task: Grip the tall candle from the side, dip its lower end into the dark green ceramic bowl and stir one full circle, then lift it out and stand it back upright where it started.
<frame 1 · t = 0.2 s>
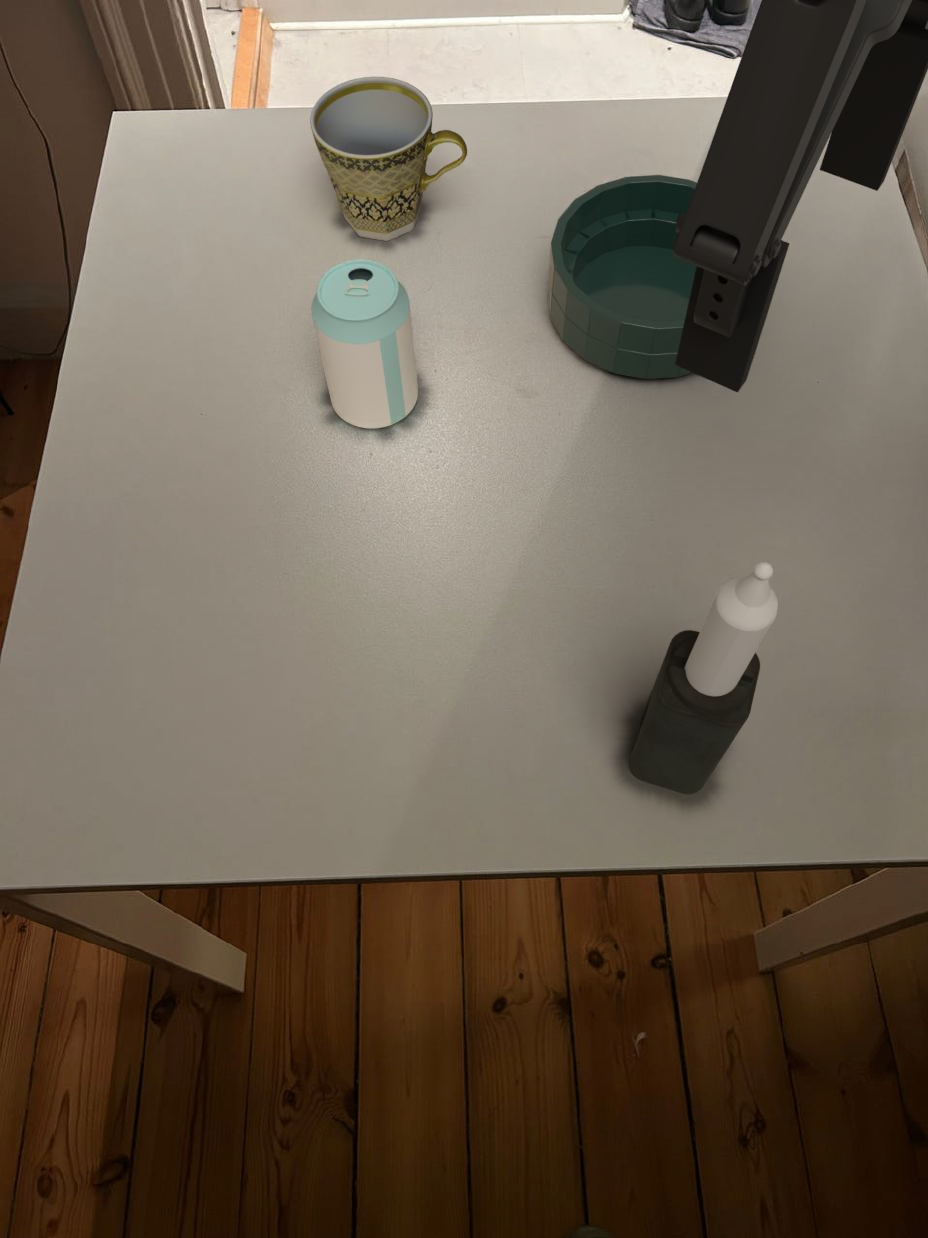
hand: (785, 268, 41), 33 cm above the table, tool pointing down, fingers open, 13 cm apart
can: (375, 400, 80), on the table
ceramic cup: (399, 219, 89), on the table
bowl: (645, 307, 84), on the table
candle: (670, 753, 66), on the table
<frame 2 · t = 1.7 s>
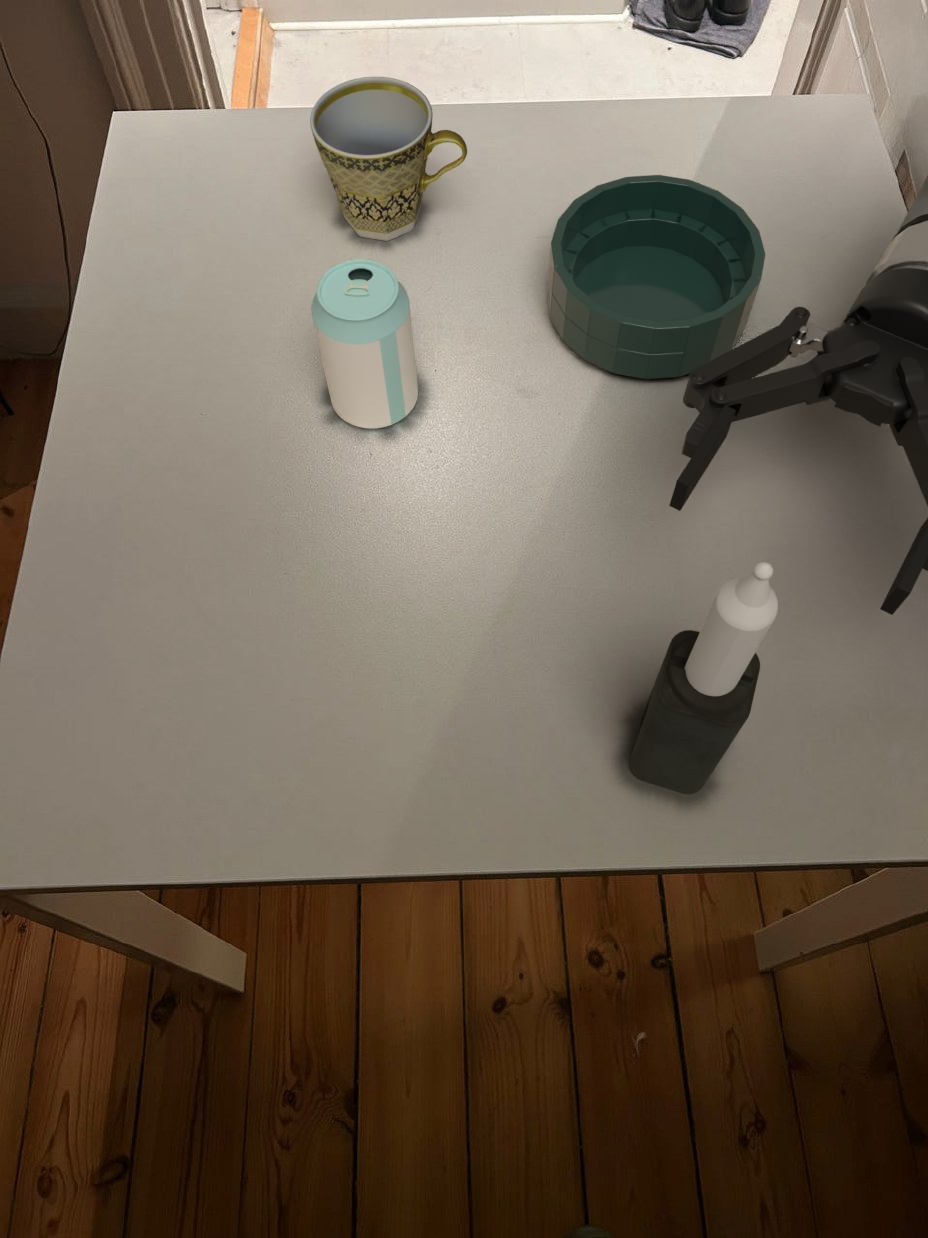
hand: (783, 547, 58), 13 cm above the table, tool horizontal, fingers open, 13 cm apart
nothing on the table moved.
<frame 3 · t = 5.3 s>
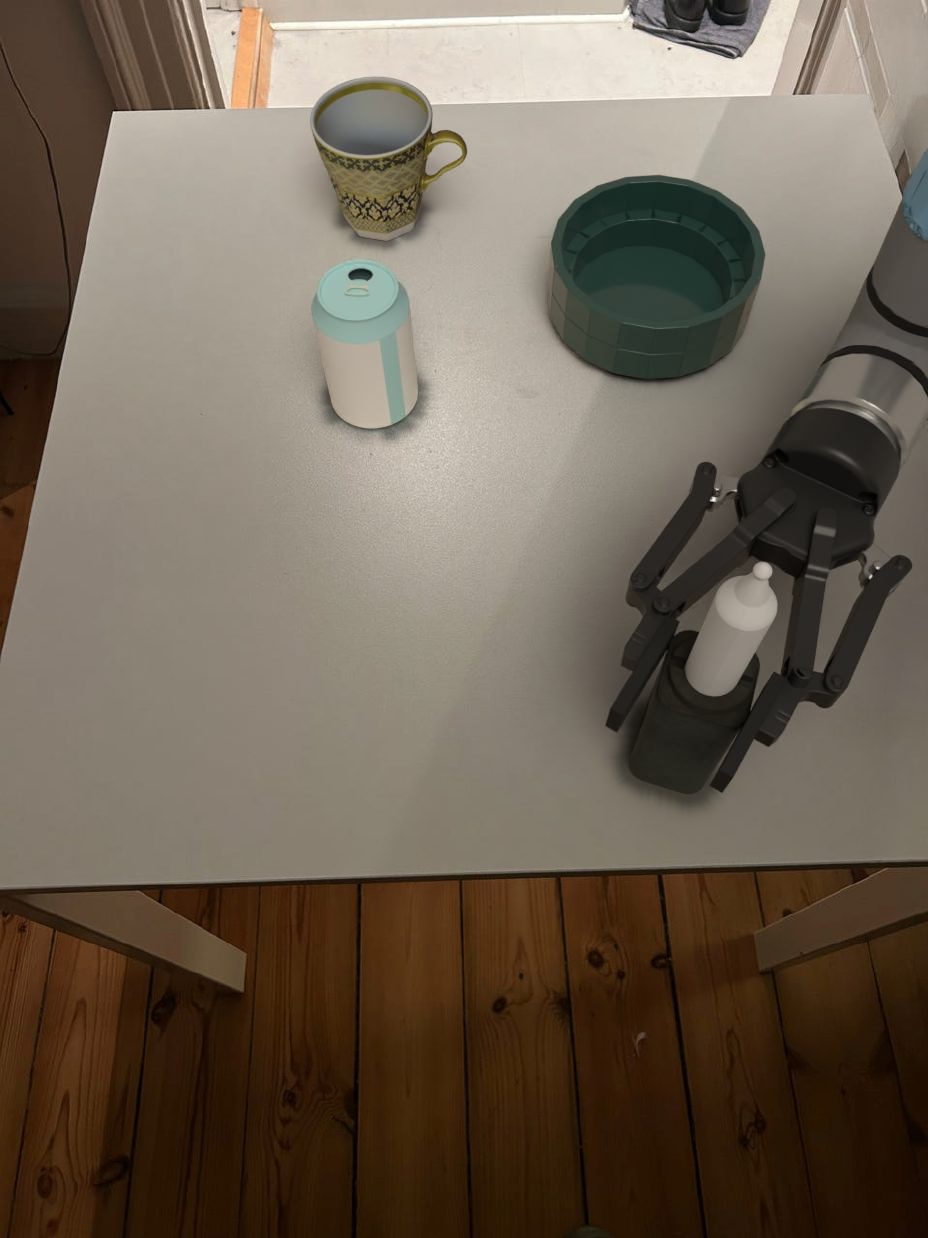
hand: (667, 750, 53), 13 cm above the table, tool horizontal, fingers closed on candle, 6 cm apart
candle: (671, 753, 66), on the table, touching gripper
everything else where it was.
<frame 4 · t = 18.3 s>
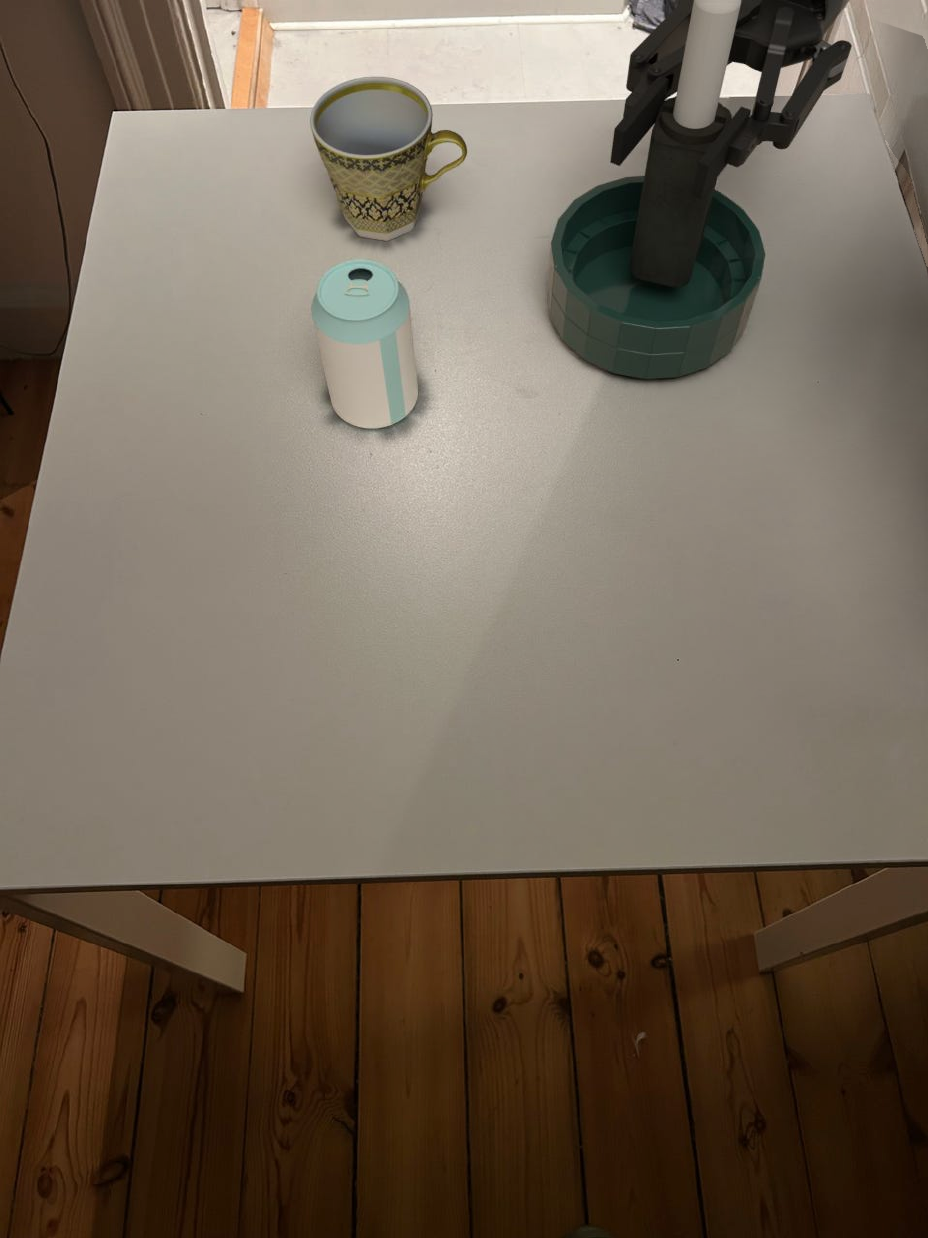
hand: (658, 163, 68), 16 cm above the table, tool horizontal, fingers closed on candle, 6 cm apart
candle: (663, 263, 82), point 3 cm above the table, touching gripper
everything else where it was.
when the fingers open (13 cm above the table, at t = 31.2 s): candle stays where it is, on the table.
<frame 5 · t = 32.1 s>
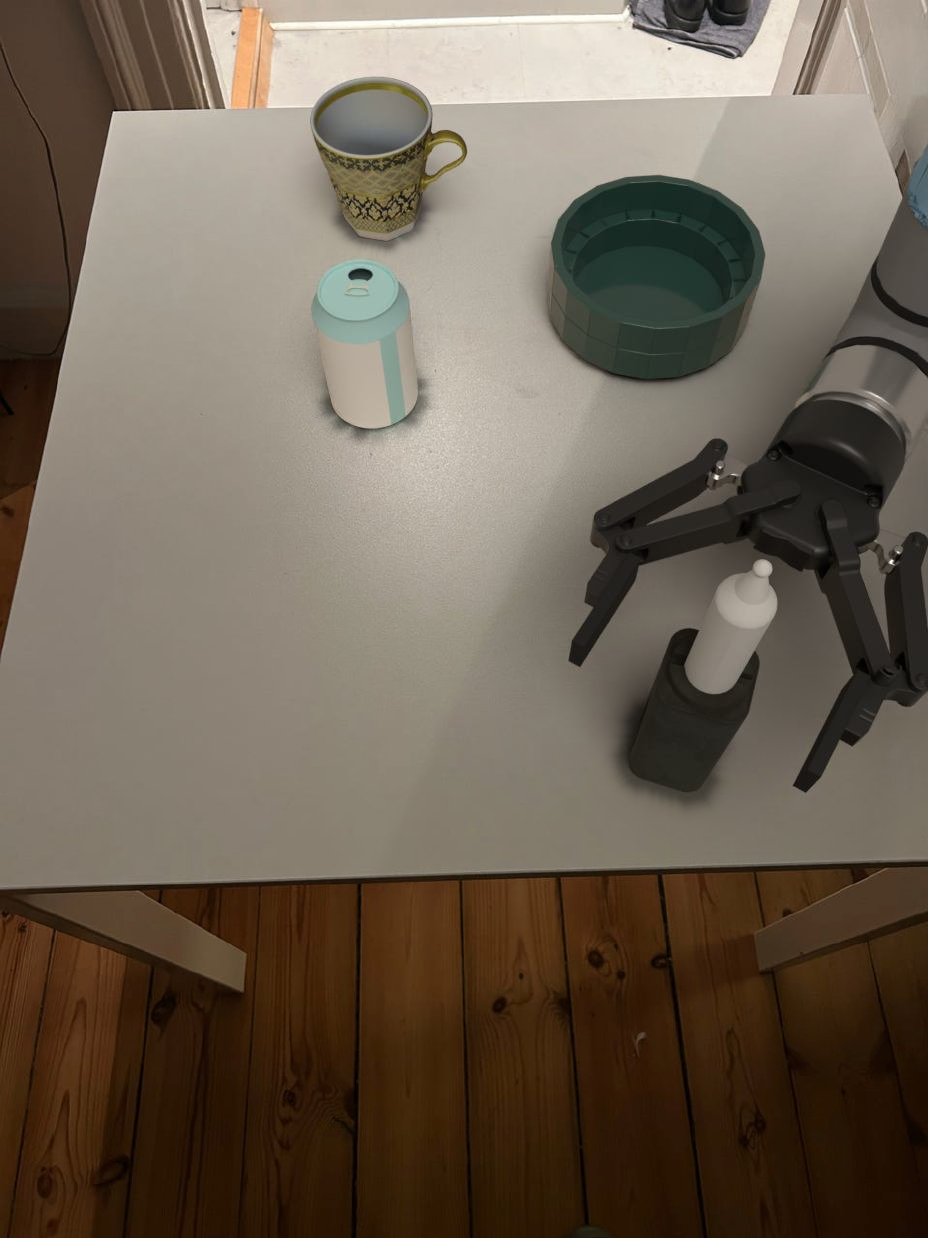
hand: (686, 716, 53), 14 cm above the table, tool horizontal, fingers open, 13 cm apart
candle: (670, 751, 66), on the table
everything else where it was.
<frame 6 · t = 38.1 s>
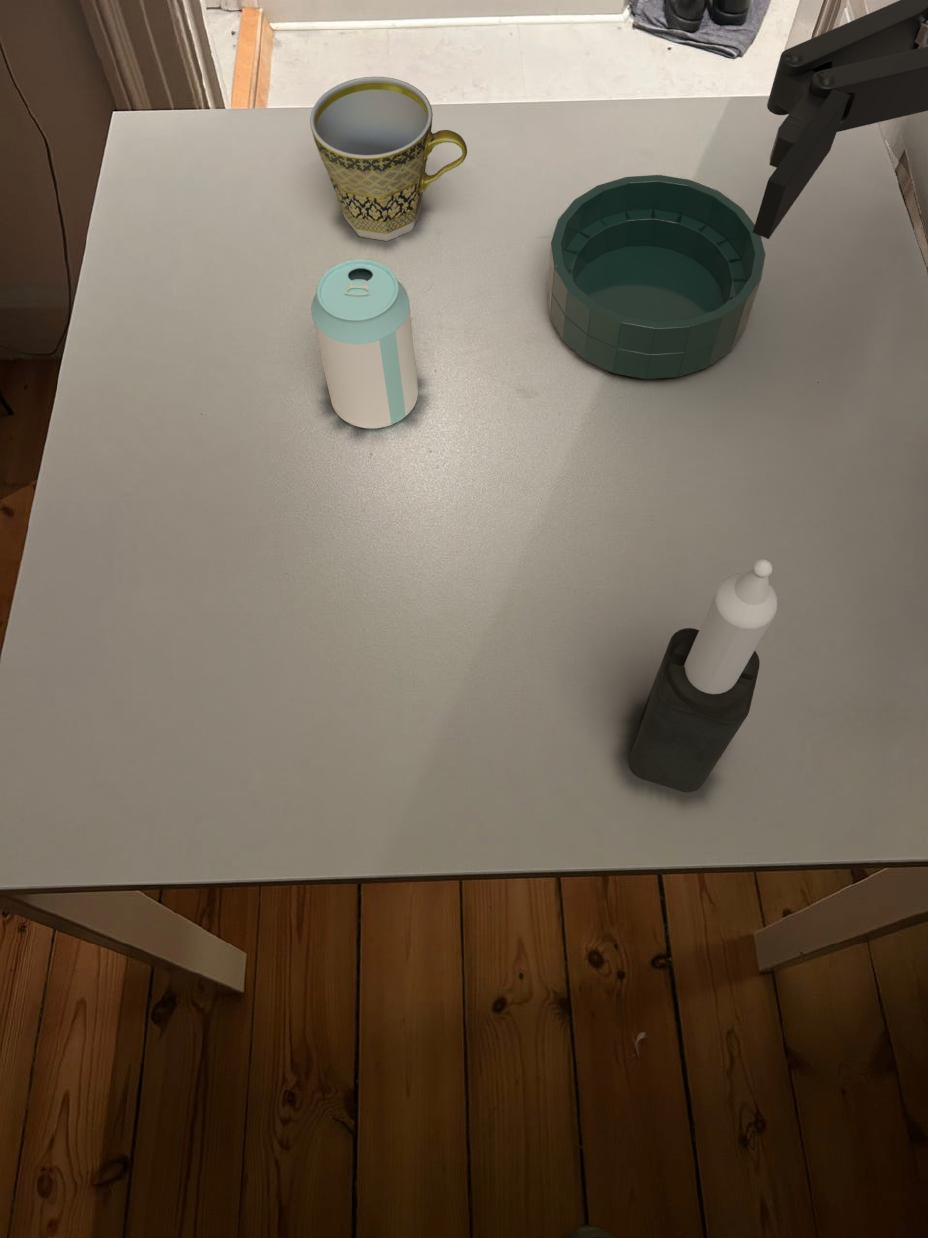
hand: (925, 273, 39), 34 cm above the table, tool horizontal, fingers open, 13 cm apart
nothing on the table moved.
at the end: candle tilted 0°; the gripper is holding nothing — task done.
